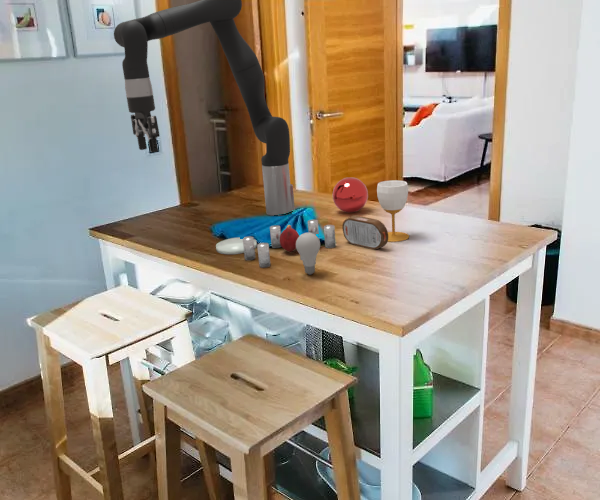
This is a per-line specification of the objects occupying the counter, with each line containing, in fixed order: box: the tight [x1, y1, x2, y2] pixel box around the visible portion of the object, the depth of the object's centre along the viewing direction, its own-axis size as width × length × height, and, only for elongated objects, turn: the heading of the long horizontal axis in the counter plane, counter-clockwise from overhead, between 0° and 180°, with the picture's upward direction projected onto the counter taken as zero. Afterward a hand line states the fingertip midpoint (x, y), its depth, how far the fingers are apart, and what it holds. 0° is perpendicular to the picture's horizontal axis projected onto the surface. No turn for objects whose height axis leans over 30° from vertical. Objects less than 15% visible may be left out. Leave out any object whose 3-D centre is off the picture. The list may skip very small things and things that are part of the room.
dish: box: [215, 237, 258, 255], centre depth 177 cm, size 12×12×1 cm
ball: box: [332, 177, 369, 214], centre depth 203 cm, size 12×12×12 cm
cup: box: [376, 179, 410, 243], centre depth 174 cm, size 9×9×16 cm
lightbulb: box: [295, 232, 321, 276], centre depth 151 cm, size 6×6×11 cm
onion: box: [280, 224, 300, 253], centre depth 169 cm, size 6×6×8 cm
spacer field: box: [243, 219, 337, 268], centre depth 169 cm, size 25×18×6 cm
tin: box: [342, 214, 389, 250], centre depth 169 cm, size 15×3×8 cm, turn 44°
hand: (148, 150), depth 179 cm, fingers open, 8 cm apart
